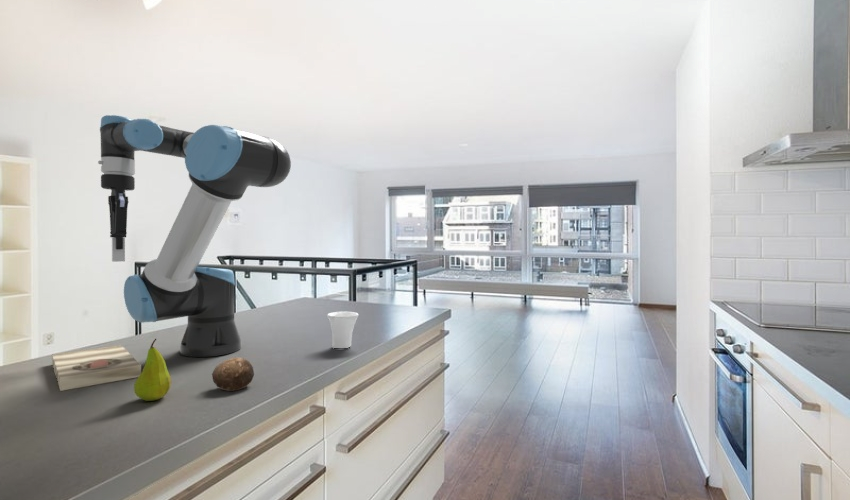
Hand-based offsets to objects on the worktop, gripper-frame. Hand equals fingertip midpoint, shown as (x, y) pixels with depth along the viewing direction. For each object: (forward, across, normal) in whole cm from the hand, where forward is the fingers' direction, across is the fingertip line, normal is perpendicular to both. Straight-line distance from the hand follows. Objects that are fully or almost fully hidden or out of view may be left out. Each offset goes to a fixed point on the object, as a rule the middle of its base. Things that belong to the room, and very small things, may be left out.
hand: (118, 261), depth 120 cm
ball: (+23, +23, -7) cm, 33 cm away
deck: (+24, +18, -7) cm, 31 cm away
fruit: (+25, +47, -2) cm, 53 cm away
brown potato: (+25, +50, +12) cm, 58 cm away
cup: (+25, +37, +48) cm, 66 cm away
